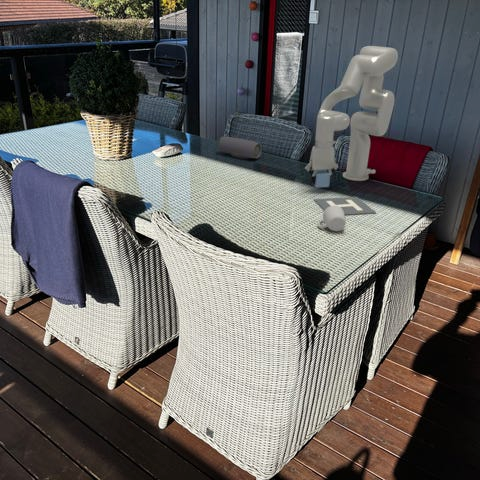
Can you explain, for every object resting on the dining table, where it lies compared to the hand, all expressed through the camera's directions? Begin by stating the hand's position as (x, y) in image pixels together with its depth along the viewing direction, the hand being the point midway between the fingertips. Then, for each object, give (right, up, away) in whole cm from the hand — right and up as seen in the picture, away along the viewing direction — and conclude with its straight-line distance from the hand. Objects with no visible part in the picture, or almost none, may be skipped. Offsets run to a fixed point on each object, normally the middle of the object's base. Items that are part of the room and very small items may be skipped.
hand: (320, 182), depth 216 cm
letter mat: (+7, -12, -15) cm, 20 cm away
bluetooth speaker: (-36, +20, +48) cm, 63 cm away
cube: (0, -1, 0) cm, 1 cm away
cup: (-2, -21, -40) cm, 45 cm away
